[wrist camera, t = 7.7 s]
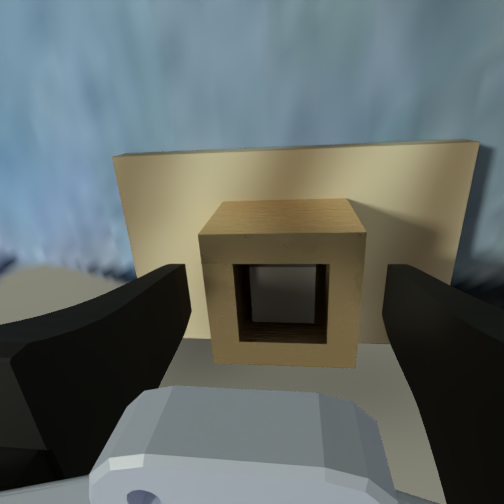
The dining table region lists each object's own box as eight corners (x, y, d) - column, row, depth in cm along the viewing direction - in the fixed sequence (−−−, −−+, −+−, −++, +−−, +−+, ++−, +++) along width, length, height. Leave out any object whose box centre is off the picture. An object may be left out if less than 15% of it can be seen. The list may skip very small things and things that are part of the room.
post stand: (463, 139, 13) (543, 152, 9) (428, 329, 16) (472, 403, 12) (125, 153, 15) (60, 170, 11) (158, 322, 18) (118, 385, 14)
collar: (346, 198, 13) (366, 232, 9) (340, 305, 15) (355, 368, 11) (222, 201, 14) (197, 234, 10) (232, 304, 16) (214, 363, 12)
